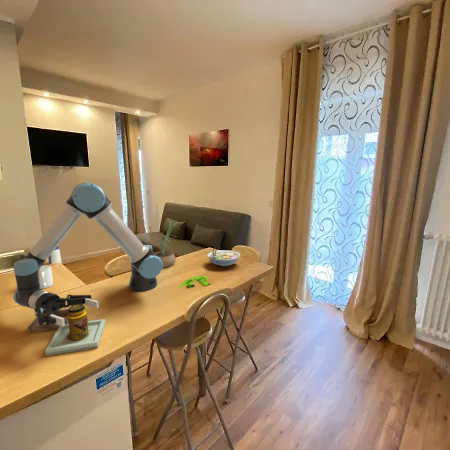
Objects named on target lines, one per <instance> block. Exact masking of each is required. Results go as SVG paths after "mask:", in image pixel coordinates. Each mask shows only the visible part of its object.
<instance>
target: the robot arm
mask: <svg viewBox="0 0 450 450" xmlns="http://www.w3.org/2000/svg"><path fill="white" fill-rule="evenodd" d="M112 205H113V203H112V201H111V200H110V199H109V198H108V197H107V196H106V194H105V193H104V190H103V189H102V188H101V187H100V186H99V185H97V184H95V183H91V182H83V183H80V184H77V185H76V186H75V187H74V189H73V191H72V192H71V194H70V196H69V198H68V199H66V201H65V207H64V208H63V209H62V211H60V213H58V216H56V218H55V219H54V221H53V222H51V224H50V225H49V227H48V228H47V229H46V230H45V231H44V233H43V234H42V235H41V236H40V237H39V239H38V240H37V241H36V243H35V244H34V246H33V247H32V248H31V249H30V250H29V252H28V253H27V254H26V255H25V257H23V258H22V259H20V260H18V261H16V262H14V264H13V273H14V277H15V278H14V279H15V281H16V283H15V284H16V288H17V289H16V290H15V292H14V294H13V297H12V299H13V301H14V302H15V303H16V304H18V305H19V306H21V307H25V308H29V309H32V310H34V316H35V317H38V322H39V324H38V325H43V324H46V325H49V324H57V325H59V326H62V327H63V326H65V322H64V321H65V318H64V317H63V316H56V315H53V313H54V311H57V310H62V309H67V308H69V307H71V306H73V305H76V304H83V305H85V306H87V307H91V308H94V309H99V307H100V305H99V301H98V300H96V299H92V294H74V295H73V294H66V297H60V296H59V295H58V294H56V293H53V292H50V291H46V290H44V289H41V288H40V281H39V271H40V268H41V267H42V266H44V264H45V263H46V261H47V260H48V257H49V256H50V255H51V254H52V252H53V251H54V250H55V248H56V247H57V246H58V247H59V245H60V243H61V242H62V241H63V240H64V239H65V237H66V236H67V234H68V233H69V232H70V231H71V230H72V228H73V227H74V226H75V224H76V223H77V222H78V221H79V219H80V218H81V217H82V216H84V215H85V216H86V217H87V218H88V219H90V220H94V221H96V222H97V224H98V225H100V227H101V228H102V229H103V230H104V231H105V232H106V233H107V234H108V236H109V237H110V238H111V239H112V240H113V241H114V242H115V243H116V245H118V246H119V247H120V249H121V250H122V251H123V252H124V253H125V254H126V255H127V256H128V257H129V259H128V261H129V263H130V268H131V276H130V279H129V282H128V289H129V290H131V291H133V292H147V291H149V290H152V289H155V288H156V287H157V286H158V279H157V277H158V276H159V275H160V274H161V272H162V271H163V268H162V267H163V263H162V261H161V259H160V258H159V257H158V256H157V255H156V254H155V253H156V252H154V251H153V246H152V245H150V244H143V243H142V241H141V240H140V239H139V238H138V237H137V235H135V233H134V232H133V231H132V230H131V229H130V228H129V226H128V225H127V224H126V223H125V221H123V219H122V218H121V217H120V216H119V215H118V214H117V212H116V211H115V210H114V209H113V207H112ZM42 313H46V315H45V317H44V318H42Z"/></svg>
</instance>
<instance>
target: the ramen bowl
mask: <svg viewBox="0 0 450 450" xmlns="http://www.w3.org/2000/svg"><path fill="white" fill-rule="evenodd" d="M207 257H208V258H209V261H211V262H212V264H214V265H217V266H220V267H229V266H232V265H234V264H236V263H237V262H238V260H239V259H240V257H241V254H240V252H238V251H233V250H229V249H227V250H217V248H213V251H211V252H209V253H207Z"/></svg>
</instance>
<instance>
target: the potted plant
mask: <svg viewBox="0 0 450 450" xmlns="http://www.w3.org/2000/svg"><path fill="white" fill-rule="evenodd" d="M168 222H169V223H168V227H167V230H166V231H167V232H166V235H165V236H163V237H161V240H160V249H159V251H157V252H154V253H155V254H156V255H157V256H158V257H159V258H160V259H161V261H162V263H163V267H162V269H166V268H165V267H167V268H170V267H172V266H174V265H175V263H176V256H175V254H174V253H173V252H172V251H166V245H167V242H170V237H174V238H175V239H176V238H177V239H178V237H177V236H176V235H173V234H171V233H172V230H173V228H174V227H175V226H176V228H178V230H179V231H181V228H179V227H177V223H176V222H175V223H173V224H172V221H171V220H169V221H168Z"/></svg>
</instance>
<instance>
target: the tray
mask: <svg viewBox="0 0 450 450" xmlns="http://www.w3.org/2000/svg"><path fill="white" fill-rule="evenodd" d="M87 321H88V330H90V329H92V331H91V333H90V335H89V337H88V339H87V341H81V342H70V343H62V341H63V340H64V338H65V337H66V335H67V333H68V332H69V324H65V326H63V327H62V326H60V327H59V329H57V330H56V332H55V334H54V335H53V337H52V338H51V340H50V342H49V343H48V345H47V347H46V348H45V350H44V351H45V352H44V353H45V356H46V357H48V356H49V357H51V356H55V355H60V354H61V355H62V354H68V353H73V352H74V353H76V352H80V351H87V350H92V349H98V348H99V345H100V343H101V339H102V336H103V332H104V330H105V327H106V319H105V318H104V319H103V318H102V319H94V320H87ZM61 343H62V344H61Z"/></svg>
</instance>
